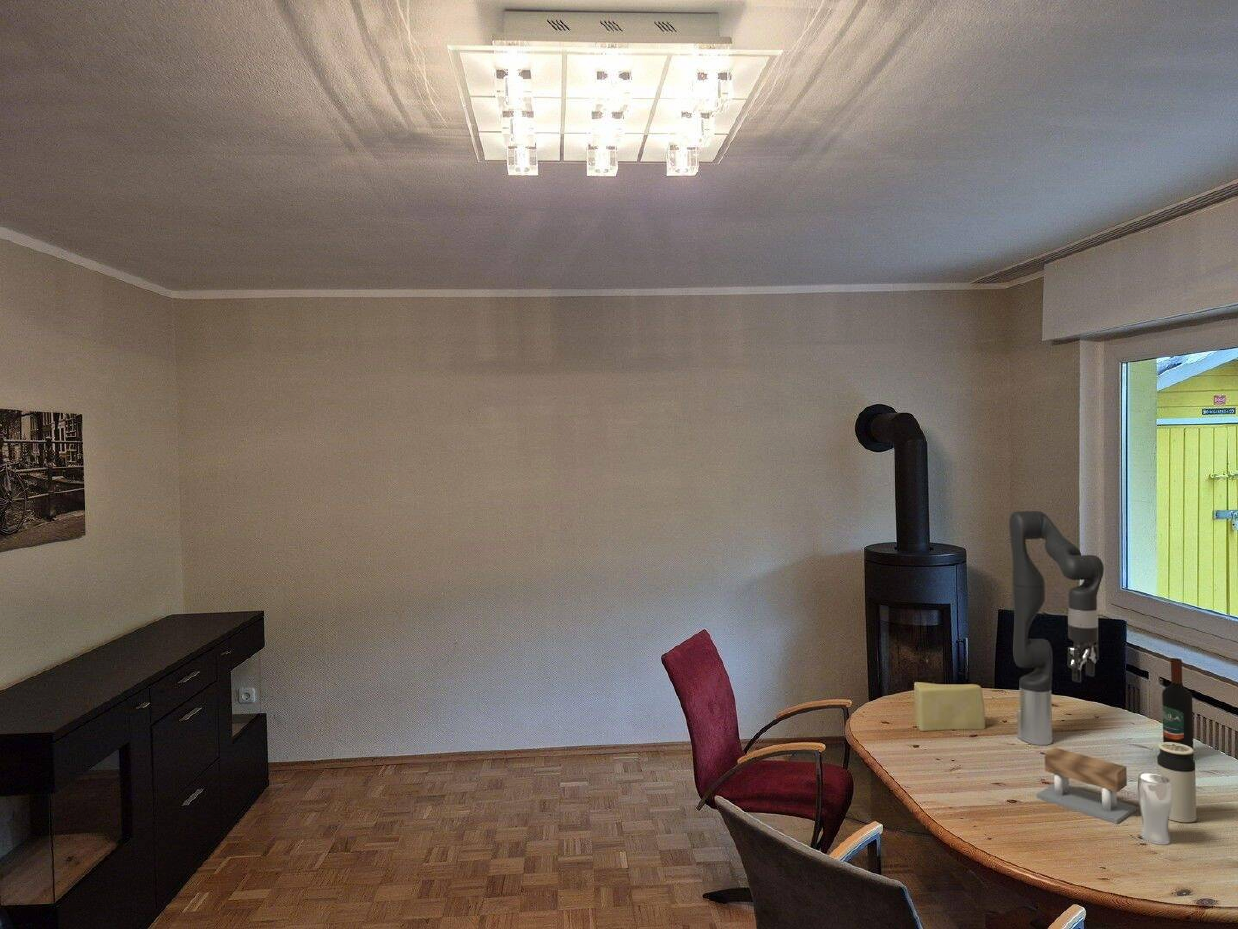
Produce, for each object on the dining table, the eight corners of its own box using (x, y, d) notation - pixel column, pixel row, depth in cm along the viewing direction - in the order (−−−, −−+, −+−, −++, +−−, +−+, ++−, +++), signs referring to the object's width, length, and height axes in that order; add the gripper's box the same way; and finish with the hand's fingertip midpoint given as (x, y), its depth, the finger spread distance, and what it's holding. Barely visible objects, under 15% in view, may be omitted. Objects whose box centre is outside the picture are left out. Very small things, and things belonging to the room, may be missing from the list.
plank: (1126, 785, 205) (1126, 766, 205) (1117, 792, 202) (1117, 773, 202) (1054, 765, 220) (1054, 747, 219) (1045, 771, 216) (1044, 753, 216)
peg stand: (1036, 797, 215) (1035, 772, 215) (1057, 785, 222) (1056, 761, 222) (1116, 824, 199) (1116, 797, 199) (1136, 810, 206) (1135, 783, 206)
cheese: (980, 724, 273) (979, 681, 273) (988, 734, 263) (987, 689, 263) (914, 722, 277) (913, 680, 277) (920, 732, 267) (918, 688, 267)
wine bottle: (1198, 762, 235) (1196, 663, 235) (1170, 760, 237) (1168, 662, 236) (1186, 752, 242) (1183, 656, 242) (1158, 751, 244) (1156, 655, 244)
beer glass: (1131, 833, 194) (1130, 773, 194) (1158, 831, 195) (1156, 771, 195) (1153, 847, 188) (1151, 785, 187) (1180, 844, 188) (1178, 783, 188)
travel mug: (1197, 826, 197) (1196, 755, 196) (1159, 819, 201) (1157, 750, 201) (1194, 813, 203) (1193, 744, 203) (1157, 807, 208) (1156, 739, 207)
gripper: (1085, 630, 219) (1086, 687, 220) (1107, 621, 228) (1108, 676, 228) (1057, 625, 225) (1058, 681, 226) (1080, 617, 234) (1081, 670, 234)
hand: (1083, 678), depth 227 cm, fingers open, 8 cm apart
